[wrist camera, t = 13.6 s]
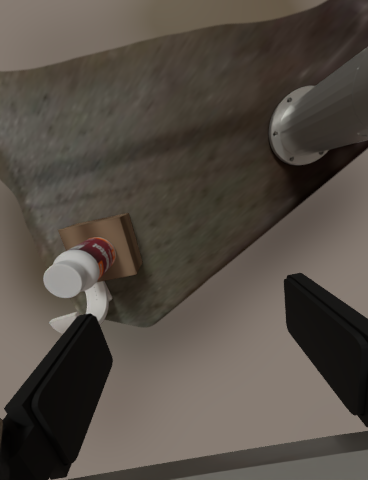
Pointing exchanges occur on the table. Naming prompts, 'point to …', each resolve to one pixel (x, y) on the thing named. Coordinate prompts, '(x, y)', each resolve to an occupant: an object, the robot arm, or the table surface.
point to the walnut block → (116, 233)
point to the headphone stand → (96, 306)
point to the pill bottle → (79, 267)
